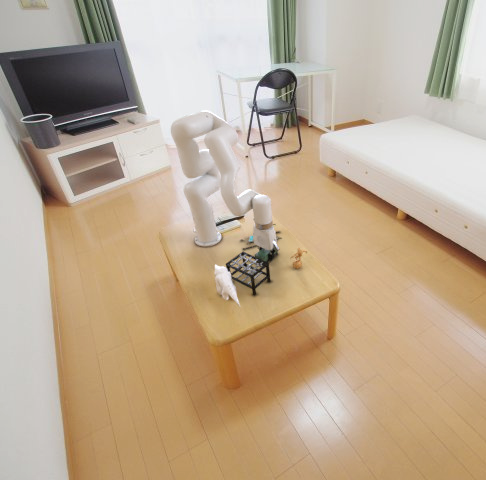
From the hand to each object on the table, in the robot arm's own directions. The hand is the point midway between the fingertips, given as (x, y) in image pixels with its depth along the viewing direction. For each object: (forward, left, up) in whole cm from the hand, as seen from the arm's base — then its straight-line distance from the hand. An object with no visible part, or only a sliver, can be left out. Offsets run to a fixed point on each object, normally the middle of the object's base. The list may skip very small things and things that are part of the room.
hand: (267, 257), depth 152 cm
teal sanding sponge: (0, 0, -1) cm, 1 cm away
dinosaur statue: (+3, -27, -1) cm, 27 cm away
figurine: (+16, +2, -1) cm, 16 cm away
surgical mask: (-12, +10, -1) cm, 16 cm away
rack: (+4, -16, -1) cm, 17 cm away
